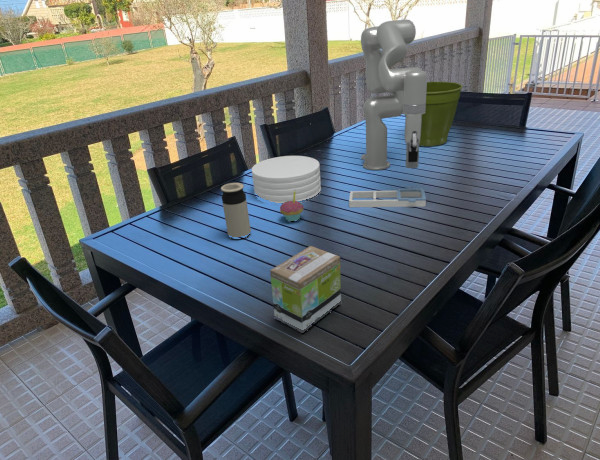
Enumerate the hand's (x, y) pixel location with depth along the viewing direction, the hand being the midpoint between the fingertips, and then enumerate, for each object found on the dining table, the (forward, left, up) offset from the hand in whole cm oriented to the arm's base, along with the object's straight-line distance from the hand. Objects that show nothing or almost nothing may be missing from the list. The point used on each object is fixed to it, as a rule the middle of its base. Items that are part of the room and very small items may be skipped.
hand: (412, 158), depth 161 cm
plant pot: (-40, +70, -17) cm, 82 cm away
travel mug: (-28, -60, -17) cm, 68 cm away
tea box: (+22, -73, -17) cm, 78 cm away
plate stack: (-46, -23, -17) cm, 54 cm away
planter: (0, 0, -3) cm, 3 cm away
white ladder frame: (-7, -6, -17) cm, 19 cm away
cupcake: (-23, -40, -17) cm, 49 cm away
